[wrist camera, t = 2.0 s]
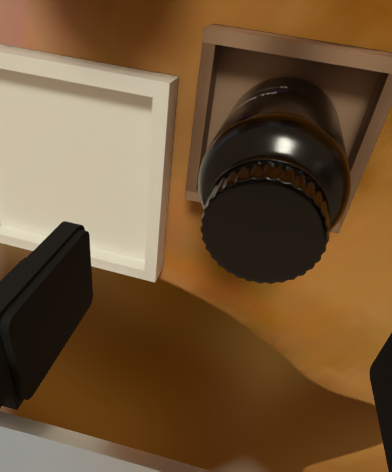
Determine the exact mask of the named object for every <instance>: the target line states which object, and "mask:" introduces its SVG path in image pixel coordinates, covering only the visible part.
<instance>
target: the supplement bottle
mask: <svg viewBox="0 0 392 472" xmlns="http://www.w3.org/2000/svg"><path fill="white" fill-rule="evenodd" d="M350 191H351V175H350V168H349V163H348V158H347V154H346V149H345V144H344V140H343V135H342V130H341V126H340V121H339V118H338V114H337V111H336V109H335V107H334V105H333V103H332V101H331V100H330V98H329V97H328V96H327V95H326V94H325V93H324V92H323V91H322V90H321V89H320V88H319V87H317V86H316V85H314V84H312V83H310V82H308V81H306V80H303V79H299V78H294V77H278V78H272V79H269V80H266V81H263V82H261V83H259V84H257V85H255V86H254V87H252V88H251V89H249V90H248V91H247V92H246V93H245V94H244V95H243V96H242V97H241V98H240V99H239V100H238V102H237V103H236V104H235V106H234V107H233V109H232V110H231V112H230V113H229V115H228V117H227V118H226V120H225V121H224V123H223V125H222V126H221V128H220V130H219V131H218V133H217V134H216V136H215V138H214V139H213V141H212V142H211V144H210V146H209V148H208V149H207V151H206V153H205V155H204V158H203V160H202V163H201V166H200V170H199V175H198V192H199V198H200V202H201V205H202V208H203V210H204V212H203V214H202V217H201V221H202V225H201V232H202V234H203V237H202V240H203V241H204V242H205V244H206V249H207V250H208V251H209V252H210V254H211V257H212V258H213V259H214V260H216V261H217V263H218V264H219V266H221V267H223V268H225V269H226V271H227V272H229V273H233V274H234V275H235V276H237V277H239V278H244V279H246V280H247V281H255V282H258V283H264V282H266V283H270V284H272V283H275V282H285V281H286V280H293V279H295V278H296V277H297V276H301V275H304V274H305V273H306V271H308V270H310V269H312V268H313V267H314V265H315V263H317V262H318V261H320V259H321V255H322V254H323V253H324V252H325V251H326V244H327V242H328V241H329V232H330V231H331V230H332V229H333V228H334V227H335V226H336V225H337V223H338V222H339V221H340V219H341V218H342V216H343V214H344V212H345V210H346V207H347V205H348V201H349V197H350Z"/></svg>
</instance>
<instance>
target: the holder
mask: <svg viewBox="0 0 392 472" xmlns="http://www.w3.org/2000/svg"><path fill="white" fill-rule="evenodd" d="M278 77H294V78H299V79H303V80H306V81H308V82H310V83H312V84H314V85H316V86H317V87H319V88H320V89H321V90H322V91H323V92H324V93H325V94H326V95H327V96H328V97H329V98H330V100H331V101H332V103H333V105H334V107H335V109H336V111H337V114H338V118H339V121H340V126H341V130H342V135H343V140H344V144H345V149H346V154H347V158H348V163H349V168H350V175H351V191H350V197H349V201H348V205H347V207H346V210H345V212H344V214H343V216H342V218H341V219H340V221H339V222H338V223H337V225H336V226H335V227H334V228H333V229H332V230H331V231H330V232H333V233H339V231H340V228H341V226H342V223H343V221H344V218H345V216H346V214H347V211H348V209H349V206H350V204H351V202H352V199H353V197H354V194H355V192H356V189H357V187H358V185H359V182H360V180H361V177H362V175H363V173H364V170H365V168H366V165H367V163H368V161H369V158H370V156H371V153H372V151H373V148H374V146H375V144H376V141H377V139H378V136H379V134H380V132H381V129H382V127H383V124H384V122H385V119H386V117H387V115H388V112H389V110H390V107H391V105H392V52H386V51H380V50H374V49H367V48H361V47H355V46H349V45H343V44H336V43H330V42H324V41H318V40H311V39H305V38H299V37H293V36H287V35H280V34H274V33H268V32H262V31H255V30H249V29H243V28H237V27H231V26H224V25H218V24H212V25H209V26H207V27H204V34H203V43H202V52H201V60H200V69H199V78H198V87H197V95H196V104H195V113H194V122H193V130H192V139H191V148H190V157H189V166H188V174H187V183H186V192H185V199H186V200H191V201H195V202H200V198H199V192H198V175H199V170H200V166H201V163H202V160H203V158H204V155H205V153H206V151H207V149H208V148H209V146H210V144H211V142H212V141H213V139H214V138H215V136H216V134H217V133H218V131H219V130H220V128H221V126H222V125H223V123H224V121H225V120H226V118H227V117H228V115H229V113H230V112H231V110H232V109H233V107H234V106H235V104H236V103H237V102H238V100H239V99H240V98H241V97H242V96H243V95H244V94H245V93H246V92H247V91H248V90H249V89H251V88H252V87H254V86H255V85H257V84H259V83H261V82H263V81H266V80H269V79H272V78H278ZM200 203H201V202H200Z"/></svg>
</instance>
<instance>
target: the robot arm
mask: <svg viewBox="0 0 392 472" xmlns="http://www.w3.org/2000/svg"><path fill="white" fill-rule="evenodd" d="M92 298H93V291H92V272H91V253H90V236H89V232H88V231H85V228H84V226H83V225H80V224H75V223H71V222H66V221H63V222H62V223H61V224H60V225H59V226H58V227H57V228H56V229H55V230H54V231H53V232H52V233H51V234H50V235H49V236H48V237H47V238H46V239H45V240H44V241H43V242H42V243H41V244H40V245H39V246H38V247H37V248H36V249H35V250H34V251H33V252H32V253H31V254H30V255H29V256H28V257H27V258H24V259H23V260H22V261H20V262H19V264H17V265H16V266H15V267H14V268H13V269H12V270H11V271H10V272H9V273H8V274H7V275H6V276H5V277H4V278H3V279H2V280H1V281H0V407H1V406H5V407H9V408H12V409H15V410H17V409H18V408H19V406H20V405H21V403H22V402H23V400H24V399H26V400H28V399H30V398H31V397H32V396H33V394H34V393H35V391H36V390H37V388H38V386H39V385H40V383H41V382H42V380H43V379H44V377H45V375H46V374H47V372H48V371H49V369H50V368H51V366H52V365H53V363H54V361H55V360H56V358H57V357H58V355H59V353H60V352H61V351H62V349H63V347H64V346H65V344H66V343H67V341H68V340H69V338H70V336H71V335H72V333H73V332H74V330H75V329H76V327H77V326H78V324H79V323H80V321H81V319H82V318H83V316H84V315H85V313H86V312H87V310H88V308H89V307H90V305H91V302H92ZM370 380H371V385H372V390H373V395H374V400H375V405H376V410H377V415H378V420H379V425H380V430H381V435H382V440H383V445H384V450H385V455H386V460H387V464H388V469H389V472H392V333H391V335H390V337H389V338H388V340H387V341H386V343H385V345H384V346H383V348H382V349H381V351H380V352H379V354H378V356H377V357H376V359H375V360H374V362H373V364H372V366H371V369H370ZM0 472H213V471H209V470H206V469H202V468H199V467H196V466H192V465H189V464H185V463H182V462H178V461H175V460H171V459H168V458H164V457H161V456H158V455H154V454H151V453H147V452H143V451H140V450H137V449H133V448H130V447H126V446H123V445H119V444H116V443H113V442H109V441H105V440H102V439H98V438H95V437H92V436H88V435H85V434H81V433H78V432H74V431H71V430H67V429H64V428H60V427H56V426H53V425H49V424H45V423H42V422H38V421H34V420H30V419H26V418H23V417H19V416H15V415H12V414H8V413H4V412H0Z"/></svg>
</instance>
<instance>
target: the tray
mask: <svg viewBox="0 0 392 472" xmlns="http://www.w3.org/2000/svg"><path fill="white" fill-rule="evenodd" d="M178 80H179V77H178V76H172V75H167V74H161V73H156V72H150V71H145V70H139V69H134V68H128V67H123V66H117V65H112V64H106V63H101V62H95V61H90V60H84V59H79V58H73V57H68V56H62V55H57V54H51V53H46V52H40V51H35V50H29V49H24V48H18V47H13V46H7V45H2V44H0V243H3V244H7V245H11V246H15V247H18V248H22V249H26V250H30V251H34V250H35V249H36V248H37V247H38V246H39V245H40V244H41V243H42V242H43V241H44V240H45V239H46V238H47V237H48V236H49V235H50V234H51V233H52V232H53V231H54V230H55V229H56V228H57V227H58V226H59V225H60V224H61V223H62V222H63V221H66V222H71V223H75V224H80V225H83V226H84V228H85V231H88V232H89V236H90V253H91V266H93V267H96V268H100V269H104V270H108V271H112V272H116V273H120V274H124V275H128V276H132V277H135V278H139V279H144V280H148V281H151V282H156V280H157V278H158V276H159V274H160V272H161V270H162V268H163V257H164V245H165V233H166V221H167V210H168V198H169V186H170V174H171V163H172V151H173V139H174V127H175V115H176V104H177V92H178Z"/></svg>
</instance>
